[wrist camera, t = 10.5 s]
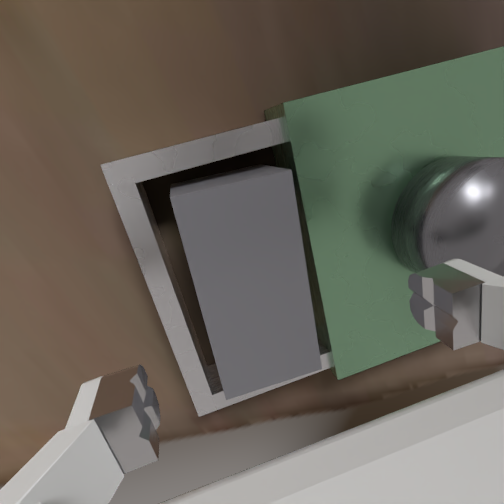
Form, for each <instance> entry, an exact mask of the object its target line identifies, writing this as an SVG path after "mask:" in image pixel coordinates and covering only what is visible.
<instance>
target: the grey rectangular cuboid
mask: <svg viewBox="0 0 504 504" xmlns="http://www.w3.org/2000/svg"><path fill="white" fill-rule="evenodd" d="M170 200H171V203H172V207H173V211H174V214H175V218H176V221H177V225H178V229H179V232H180V236H181V239H182V243H183V247H184V250H185V254H186V257H187V261H188V265H189V268H190V272H191V276H192V279H193V283H194V286H195V290H196V294H197V297H198V301H199V304H200V308H201V312H202V315H203V319H204V322H205V326H206V330H207V333H208V337H209V340H210V344H211V348H212V351H213V355H214V358H215V362H216V366H217V369H218V373H219V376H220V380H221V384H222V387H223V391H224V395H225V398H226V400H228V399H231V398H234V397H238V396H241V395H244V394H247V393H250V392H253V391H256V390H259V389H262V388H265V387H268V386H271V385H275V384H278V383H281V382H284V381H287V380H290V379H293V378H296V377H299V376H302V375H305V374H308V373H311V372H315V371H318V370H321V369H322V365H321V359H320V352H319V346H318V339H317V333H316V326H315V319H314V313H313V306H312V300H311V293H310V287H309V280H308V274H307V267H306V261H305V254H304V248H303V241H302V235H301V228H300V222H299V215H298V209H297V202H296V196H295V189H294V182H293V176H292V170H290V169H284V168H279V167H273V166H267V165H262V164H259V165H254V166H250V167H245V168H241V169H236V170H232V171H227V172H223V173H218V174H214V175H209V176H205V177H200V178H196V179H191V180H187V181H182V182H178V183H173V184H171V188H170Z"/></svg>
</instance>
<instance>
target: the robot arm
mask: <svg viewBox="0 0 504 504" xmlns="http://www.w3.org/2000/svg"><path fill="white" fill-rule="evenodd" d="M408 288H409V289H410V290H411V291H412V292H413V294H412V296H411V298H410V300H409V302H410V310H411V312H412V315H413V317H414V319H415V320H416V321H417V323H418V324H419V325H420V326H422V327H423V328H424V329H427V330H431V331H435V334H436V338H438V339H439V340H440V341H442V342H443V343H444V344H446V345H447V346H448V347H450V348H451V349H452V350H456V349H459V348H462V347H465V346H468V345H471V344H474V343H477V342H480V341H481V343H484V344H487V345H490V346H493V347H496V348H499V349H502V350H504V276H500V275H498V274H495V273H493V272H491V271H488V270H486V269H483V268H481V267H478V266H476V265H474V264H471V263H469V262H466V261H464V260H461V259H451V260H449V261H446V262H443V263H441V264H439V265H436V266H433V267H430V268H428V269H425V270H422V271H419V272H417V273H414V274H411V275H409V279H408ZM147 378H148V376H147V374H146V372H145V370H144V368H143V366H141V365H137V366H133V367H130V368H127V369H124V370H121V371H118V372H114V373H111V374H108V375H105V376H101V377H98V378H95V379H92V380H89V381H87V382H85V383H83V384H82V385H81V387H80V390H79V393H78V395H77V398H76V401H75V403H74V406H73V408H72V411H71V414H70V416H69V419H68V422H67V424H66V427H65V429H64V430H61V431H59V432H57V433H56V434H55V435H54V436H53V438H52V439H51V440H50V441H49V442H48V443H47V444H46V445H45V446H44V447H43V448H42V449H41V450H40V451H39V452H38V453H37V454H36V455H35V456H34V457H33V458H32V459H31V460H30V461H29V462H28V463H27V464H26V465H25V466H24V467H23V468H22V469H21V470H20V471H19V472H18V473H17V474H16V475H15V476H14V477H13V478H12V479H11V480H10V481H9V482H8V483H7V484H6V485H5V486H4V487H3V488H2V489H1V490H0V504H109V502H110V501H111V499H112V497H113V495H114V493H115V492H116V490H117V488H118V487H119V485H120V483H121V481H122V480H123V478H124V474H126V473H128V472H131V471H133V470H136V469H138V468H140V467H143V466H145V465H148V464H150V463H153V462H155V461H158V454H159V436H158V434H157V432H156V429H157V428H158V426H159V425H160V411H159V404H158V401H157V397H156V394H155V392H154V390H153V389H152V388H150V387H148V386H147ZM159 504H504V370H501V371H498V372H496V373H493V374H491V375H488V376H485V377H483V378H480V379H478V380H475V381H473V382H470V383H467V384H465V385H462V386H460V387H457V388H455V389H452V390H449V391H447V392H444V393H442V394H439V395H437V396H434V397H431V398H429V399H426V400H424V401H421V402H418V403H416V404H413V405H411V406H408V407H406V408H403V409H400V410H398V411H395V412H393V413H390V414H388V415H385V416H383V417H380V418H377V419H375V420H372V421H370V422H367V423H365V424H362V425H359V426H357V427H354V428H352V429H349V430H347V431H344V432H342V433H339V434H337V435H334V436H331V437H329V438H326V439H324V440H321V441H318V442H316V443H313V444H311V445H308V446H306V447H303V448H301V449H298V450H296V451H293V452H290V453H288V454H285V455H283V456H280V457H277V458H275V459H272V460H270V461H267V462H264V463H262V464H259V465H257V466H254V467H252V468H249V469H246V470H244V471H241V472H239V473H236V474H234V475H231V476H228V477H226V478H223V479H221V480H218V481H216V482H213V483H211V484H208V485H205V486H203V487H200V488H198V489H195V490H193V491H190V492H187V493H185V494H182V495H179V496H177V497H175V498H172V499H169V500H167V501H164V502H162V503H159Z"/></svg>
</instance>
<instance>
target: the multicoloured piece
mask: <svg viewBox="0 0 504 504" xmlns="http://www.w3.org/2000/svg"><path fill="white" fill-rule="evenodd" d="M264 113H265V117H266V122H262V123H258V124H254V125H250V126H247V127H243V128H239V129H235V130H231V131H228V132H224V133H220V134H216V135H212V136H209V137H205V138H201V139H197V140H193V141H189V142H186V143H182V144H178V145H174V146H170V147H167V148H163V149H159V150H155V151H151V152H148V153H144V154H140V155H136V156H132V157H128V158H125V159H121V160H117V161H113V162H109V163H106V164H102V165H101V168H102V170H103V173H104V175H105V178H106V181H107V183H108V186H109V188H110V191H111V193H112V196H113V198H114V201H115V204H116V206H117V209H118V211H119V214H120V216H121V219H122V221H123V224H124V227H125V229H126V232H127V234H128V237H129V239H130V242H131V244H132V247H133V250H134V252H135V255H136V257H137V260H138V262H139V265H140V268H141V270H142V273H143V275H144V278H145V280H146V283H147V285H148V288H149V291H150V293H151V296H152V298H153V301H154V303H155V306H156V308H157V311H158V314H159V316H160V319H161V321H162V324H163V326H164V329H165V331H166V334H167V337H168V339H169V342H170V344H171V347H172V349H173V352H174V354H175V357H176V360H177V362H178V365H179V367H180V370H181V372H182V375H183V378H184V380H185V383H186V385H187V388H188V390H189V393H190V395H191V398H192V401H193V403H194V406H195V408H196V411H197V413H198V416H199V417H200V416H203V415H205V414H208V413H211V412H213V411H216V410H219V409H221V408H224V407H227V406H229V405H232V404H235V403H237V402H240V401H243V400H245V399H248V398H251V397H254V396H256V395H259V394H262V393H264V392H267V391H270V390H272V389H275V388H278V387H280V386H283V385H286V384H288V383H291V382H294V381H296V380H299V379H302V378H304V377H307V376H310V375H312V374H315V373H318V372H320V371H323V370H326V369H328V368H330V370H331V371H332V373H333V374H334V375H335V377H336V378H337V380H340V379H342V378H345V377H348V376H350V375H353V374H355V373H358V372H361V371H363V370H366V369H369V368H371V367H374V366H376V365H379V364H382V363H384V362H387V361H390V360H392V359H395V358H398V357H400V356H403V355H405V354H408V353H411V352H413V351H416V350H419V349H421V348H424V347H426V346H429V345H432V344H434V343H437V342H440V340H439V339H438V338H436V334H435V331H431V330H427V329H424V328H423V327H422V326H420V325H419V324H418V323H417V321H416V320H415V319H414V317H413V315H412V312H411V310H410V302H409V300H410V298H411V296H412V294H413V292H412V291H411V290H410V289H409V288H408V279H409V275H411V274H414V273H417V272H419V271H422V270H425V269H428V268H430V267H433V266H436V265H439V264H441V263H443V262H446V261H449V260H451V259H461V260H464V261H466V262H469V263H471V264H474V265H476V266H478V267H481V268H483V269H486V270H488V271H491V272H493V273H495V274H498V275H500V276H504V46H503V47H499V48H496V49H492V50H488V51H484V52H480V53H476V54H472V55H468V56H464V57H460V58H457V59H453V60H449V61H445V62H441V63H437V64H433V65H429V66H425V67H421V68H418V69H414V70H410V71H406V72H402V73H398V74H394V75H390V76H386V77H382V78H379V79H375V80H371V81H367V82H363V83H359V84H355V85H351V86H347V87H343V88H340V89H336V90H332V91H328V92H324V93H320V94H316V95H312V96H308V97H305V98H301V99H297V100H293V101H289V102H285V103H282V104H279V105H277V106H275V107H272V108H270V109H267V110H265V111H264ZM270 146H272V150H273V154H274V159H275V164H276V167H279V168H284V169H290V170H292V176H293V182H294V189H295V196H296V202H297V209H298V215H299V222H300V228H301V235H302V241H303V248H304V254H305V261H306V267H307V274H308V280H309V287H310V293H311V300H312V306H313V313H314V319H315V326H316V333H317V339H318V346H319V352H320V359H321V365H322V369H321V370H318V371H315V372H311V373H308V374H305V375H302V376H299V377H296V378H293V379H290V380H287V381H284V382H281V383H278V384H275V385H271V386H268V387H265V388H262V389H259V390H256V391H253V392H250V393H247V394H244V395H241V396H238V397H234V398H231V399H228V400H226V398H225V395H224V391H223V387H222V384H221V380H220V376H219V373H218V369H217V366H216V363H214V364H211V365H208V366H207V363H206V360H205V357H204V355H203V352H202V349H201V346H200V343H199V341H198V338H197V335H196V332H195V329H194V327H193V324H192V321H191V318H190V315H189V312H188V310H187V307H186V304H185V301H184V298H183V296H182V293H181V290H180V287H179V284H178V282H177V279H176V276H175V273H174V270H173V267H172V265H171V262H170V259H169V256H168V253H167V251H166V248H165V245H164V242H163V239H162V237H161V234H160V231H159V228H158V225H157V222H156V220H155V217H154V214H153V211H152V208H151V206H150V203H149V200H148V197H147V194H146V192H145V189H144V186H143V183H142V181H145V180H149V179H153V178H156V177H160V176H164V175H167V174H171V173H175V172H178V171H182V170H186V169H189V168H193V167H197V166H200V165H204V164H208V163H211V162H215V161H219V160H222V159H226V158H230V157H233V156H237V155H241V154H244V153H248V152H252V151H255V150H259V149H263V148H266V147H270Z"/></svg>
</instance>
